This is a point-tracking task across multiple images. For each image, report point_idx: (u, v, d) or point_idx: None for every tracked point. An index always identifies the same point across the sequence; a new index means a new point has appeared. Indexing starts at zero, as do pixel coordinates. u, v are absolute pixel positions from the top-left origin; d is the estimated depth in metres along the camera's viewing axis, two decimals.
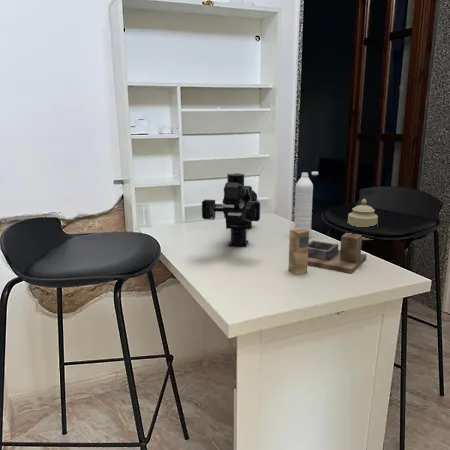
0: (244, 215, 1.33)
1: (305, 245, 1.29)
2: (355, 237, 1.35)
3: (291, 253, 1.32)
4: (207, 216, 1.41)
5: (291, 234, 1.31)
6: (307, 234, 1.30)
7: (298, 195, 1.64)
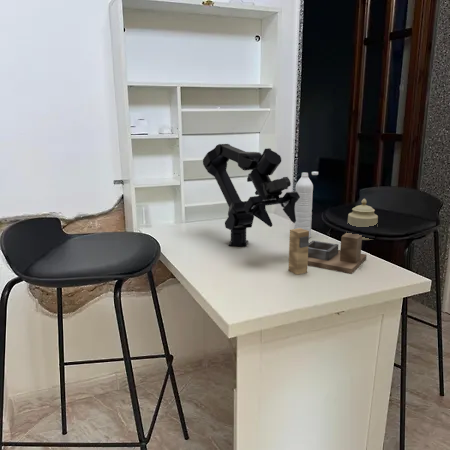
0: None
1: (305, 245, 1.30)
2: (355, 237, 1.35)
3: (291, 253, 1.32)
4: (253, 213, 1.37)
5: (291, 234, 1.31)
6: (307, 234, 1.30)
7: None
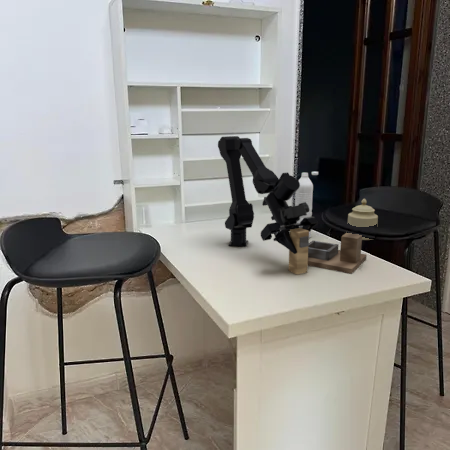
0: None
1: (305, 245, 1.29)
2: (355, 237, 1.35)
3: (291, 253, 1.32)
4: (276, 239, 1.33)
5: (291, 234, 1.31)
6: (307, 234, 1.30)
7: (298, 195, 1.64)
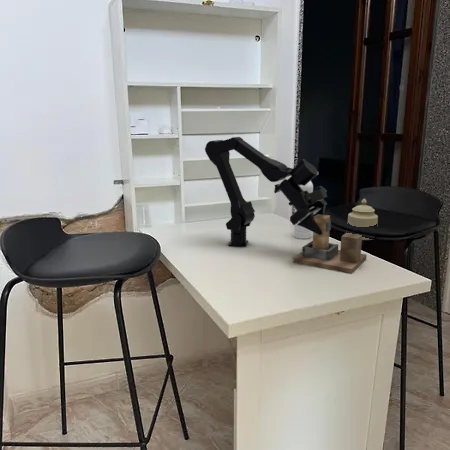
0: None
1: (329, 229, 1.41)
2: (355, 237, 1.35)
3: (316, 238, 1.42)
4: (300, 223, 1.39)
5: (316, 220, 1.41)
6: (329, 219, 1.42)
7: None
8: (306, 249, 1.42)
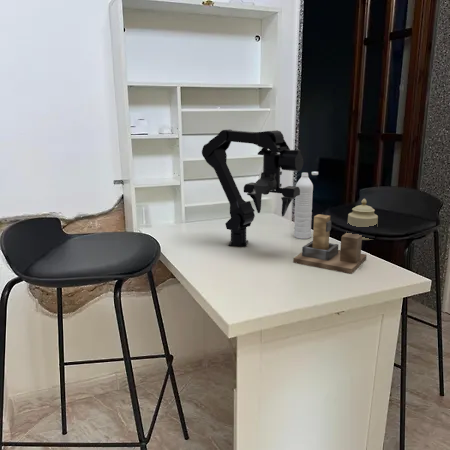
0: (284, 212, 1.47)
1: (329, 229, 1.41)
2: (355, 237, 1.35)
3: (316, 238, 1.42)
4: None
5: (316, 220, 1.40)
6: (329, 219, 1.42)
7: (298, 195, 1.64)
8: (306, 249, 1.42)
